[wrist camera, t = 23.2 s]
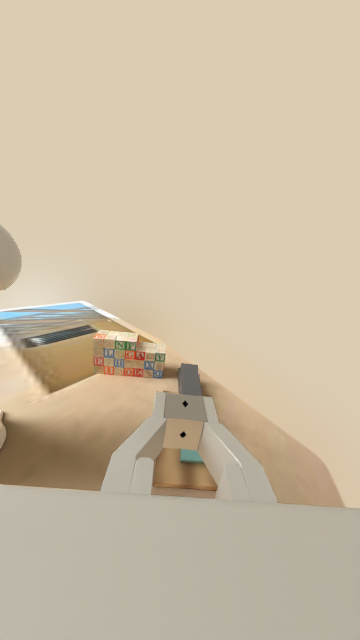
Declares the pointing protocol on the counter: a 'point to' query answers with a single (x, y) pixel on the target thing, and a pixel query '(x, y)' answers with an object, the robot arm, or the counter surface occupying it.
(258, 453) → the counter surface
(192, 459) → the domino
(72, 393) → the counter surface
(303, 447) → the counter surface
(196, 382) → the domino
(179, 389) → the domino
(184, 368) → the domino
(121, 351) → the stack of blocks
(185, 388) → the domino
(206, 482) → the oak board
